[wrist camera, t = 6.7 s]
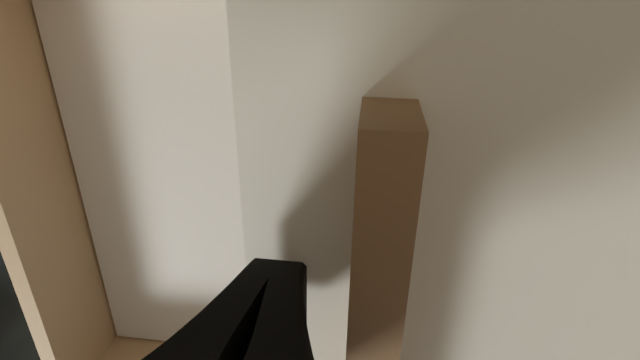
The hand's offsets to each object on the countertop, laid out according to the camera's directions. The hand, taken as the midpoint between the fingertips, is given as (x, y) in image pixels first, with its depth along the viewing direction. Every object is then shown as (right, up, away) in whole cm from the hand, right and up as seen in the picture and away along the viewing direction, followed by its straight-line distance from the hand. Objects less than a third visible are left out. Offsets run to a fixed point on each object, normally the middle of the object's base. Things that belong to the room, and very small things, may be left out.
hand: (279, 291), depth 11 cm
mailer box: (-3, +3, +5) cm, 6 cm away
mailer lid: (+5, 0, +1) cm, 5 cm away
